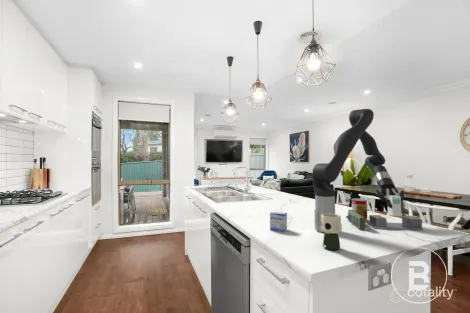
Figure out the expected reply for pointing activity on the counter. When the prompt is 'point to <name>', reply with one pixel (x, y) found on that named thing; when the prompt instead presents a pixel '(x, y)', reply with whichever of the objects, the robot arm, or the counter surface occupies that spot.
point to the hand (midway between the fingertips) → (396, 207)
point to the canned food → (360, 207)
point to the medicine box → (278, 221)
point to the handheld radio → (356, 220)
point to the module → (395, 205)
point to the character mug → (331, 230)
